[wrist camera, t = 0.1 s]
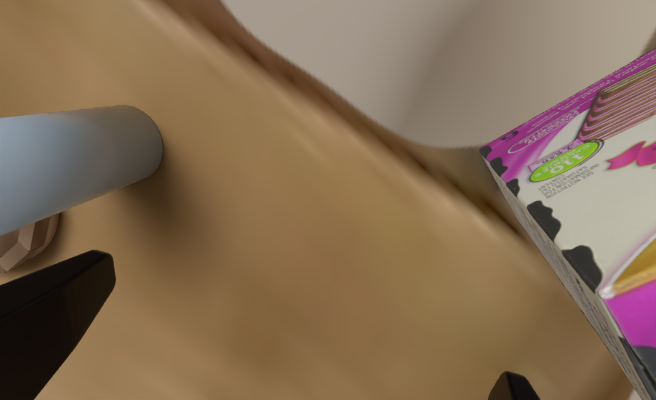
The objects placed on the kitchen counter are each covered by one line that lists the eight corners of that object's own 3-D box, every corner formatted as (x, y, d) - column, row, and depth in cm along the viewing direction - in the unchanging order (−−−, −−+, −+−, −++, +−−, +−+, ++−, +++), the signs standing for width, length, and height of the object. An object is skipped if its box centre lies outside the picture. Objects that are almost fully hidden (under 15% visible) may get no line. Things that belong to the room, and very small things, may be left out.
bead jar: (128, 194, 27) (-91, 288, 15) (79, 135, 27) (-186, 184, 15) (177, 152, 26) (-21, 219, 14) (127, 89, 25) (-123, 102, 13)
